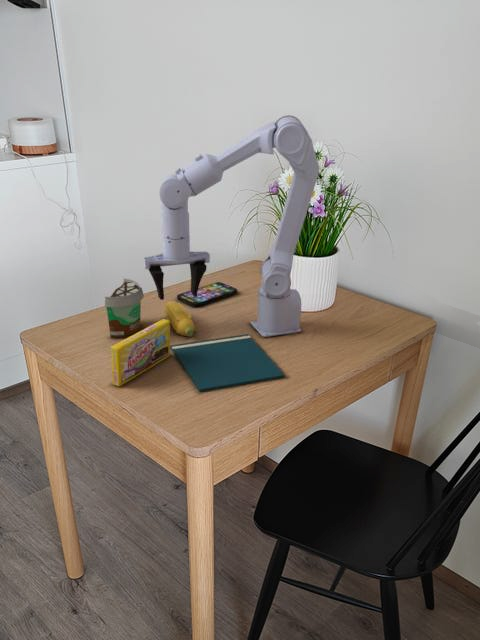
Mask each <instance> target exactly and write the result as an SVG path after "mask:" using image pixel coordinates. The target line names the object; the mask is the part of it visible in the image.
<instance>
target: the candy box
mask: <svg viewBox="0 0 480 640" xmlns="http://www.w3.org/2000/svg"><path fill="white" fill-rule="evenodd" d="M170 345H171V324H170V321H168V319H165V318H162V319H160V320H158V321H157V322H155V323H153V324H151V325H149V326H147V327H146V328H144V329H142V330H140V331H139V332H138V333H136V334H134V335H132V336H130V337H126V338H124V339H123V340H121V341H119V342H117V343H115V344H113V345H111V346H110V351H111V352H110V354H111V355H110V356H111V372H112V373H111V375H112V385H113V386H116V387H121V386H123V385H125V384H126V383H128V382H129V381H131V380H133V379H134V378H136V377H138V376H139V375H141V374H142V373H144V372H146V371H147V370H150V369H151V368H152V367H154V366H156V365H158V364H159V363H161V362H162V361H164V360H165V359H167V358H169V357H170V356H171V348H170Z"/></svg>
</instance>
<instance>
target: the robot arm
mask: <svg viewBox="0 0 480 640" xmlns="http://www.w3.org/2000/svg"><path fill="white" fill-rule="evenodd" d="M274 149H276V151H277V152H278V153H279V155H281V156H282V158H283V159H285V160H286V161H287V162H288V163H289V165H290V168H291V169H292V171H293V175H292V178H291V182H290V184H289V189H288V192H287V196H286V200H285V203H284V206H283V209H282V212H281V217H280V220H279V223H278V227H277V230H276V234H275V237H274V241H273V244H272V246H271V248H270V250H269V253H268V256H267V257H266V259H264V260H263V262H262V263H261V266H260V275H261V284H260V286H259V288H258V294H257V295H258V296H257V314H256V315H257V317H256V319H257V320H254V321H250V325H251V326H252V327H253V328H254V329H255V330H256V331H257V333H258V334H260V335H261V337H263V338H269V337H276V336H282V335H289V334H296V333H300V332H302V329H301V328H300V327H301V317H302V298H301V295H300V292H299V291H298V289H295V288H291V287H292V280H291V273H292V268H293V263H294V254H295V251H296V248H297V246H298V245H297V244H298V242H299V239H300V236H301V232H302V229H303V225H304V223H305V220H306V216H307V213H308V212H307V211H308V209H309V206H310V203H311V199H312V196H313V193H314V190H315V186H316V183H317V180H318V177H319V174H320V165H319V162H318V161H319V160H318V158H317V155H316V151H315V148H314V144H313V139H312V138H311V136H310V134H309V132H308V130H307V128H306V127H305V126H304V124H303V123H302V121H301V120H300V119H299V118H298V117H296V116H295V115H291V114H286V115H283V116H281V117H279V118H278V119H277V120H276V121H274V120H273V121H270V122H268V123H266V124H264V125H262V126H260V127H259V128H257V129H255V130H254V131H252V132H251V133H249V134H248V135H246V136H245V137H243V138H242V139H240V140H239V141H237V142H236V143H234V144H233V145H231V146H229V147H228V148H226V149H225V150H223V151H221V153H219V154H217V155H213V154H209V153H206V154H204V155H202V153H199V154H198V155H196V156H195V157H194V161H192V162H191V163H189V164H188V165H186V166H184V167H183V168H180V167H178V168H176V169H175V170H174V173H171V174H169V175H167V176H166V177H165V178H164V179H163V180H162V183H161V185H160V188H159V198H160V201H161V211H162V212H161V235H162V253H160V254H155V255H151V256H146V257H142V266H143V268H144V269H145V270H148V272H149V273H150V275H151V278H152V280H153V282H154V284H155V287H156V292H157V296H158V298H159V300H161V301H162V300H163V301H165V291H164V276H165V273H164V272H163V268H162V267H169V266H180V265H189V268H190V269H189V270H190V290H191V293H192V294H193V295H194V296H197V292H198V288H200V284H201V281H202V279H203V276H204V275H205V272H207V264H209V263H211V254H210V253H209V252H208V251H207V250H206V251H191V248H190V247H191V245H190V244H191V243H190V241H191V239H190V238H191V237H190V213H189V198H190V197H196V196H198V195H200V194H201V193H203V192H205V191H206V190H208V189H210V188H211V187H213V186H214V185H216V184H218V183H220V182H221V181H222V180H223V175H224V172H225V171H227V170H229V169H231V168H233V167H234V166H236V165H238V164H240V163H242V162H244V161H246V160H248V159H249V158H251V157H253V156H255V155H257V154H267V155H274V154H275V153H274Z"/></svg>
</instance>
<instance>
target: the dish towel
mask: <svg viewBox="0 0 480 640" xmlns="http://www.w3.org/2000/svg"><path fill="white" fill-rule="evenodd" d="M170 350H171V351H172V353H173V354H174V356H175V357H176V359H177V360H178V361H179V363H180V364H181V366H182V368H183V369H184V371H185V372H186V374H187V375H188V377H189V378H190V380H191V381H192V383H193V384H194V386H195V387H196V389H197V390H198V392H199V393H202V392H206V391H213V390H219V389H225V388H232V387H237V386H242V385H249V384H255V383H260V382H265V381H266V382H267V381H271V380H277V379H283V378H285V377H286V374H285V373H284V372H283V371H282V370H281V368H279V367H278V366H277V365H276V364H275V362H274V361H273V360H272V359H271V358H270V357H269V355H267V354H266V353H265V352H264V350H263V349H262V348H261V347H260V346H259V345H258V344H257V342H255V341H254V339H253V338H252V336H250V335H249V334H248V333H246V334H239V335H233V336H225V337H218V338H212V339H205V340H199V341H191V342H184V343H178V344H170Z"/></svg>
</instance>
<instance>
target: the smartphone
mask: <svg viewBox="0 0 480 640" xmlns="http://www.w3.org/2000/svg"><path fill="white" fill-rule="evenodd" d="M237 293H238V289H237V288H235V287H234V286H231V285H229V284H226V283H223V282H220V281H216V282H214V283H210V284H207V285H206V284H205V285H204V286H199V287H198V292H197V296H194V295H193V294H192V293H191V289H190V290H188V291H185V292H181V293H179V294H176V300H178V301H180V302H181V303H184V304H186V305H188V306H191V307H194V308H195V307H200V306H203V305H205V304H209V303H213V302H215V301H218V300H221V299H223V298H226V297H230V296H232V295H235V294H237Z"/></svg>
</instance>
